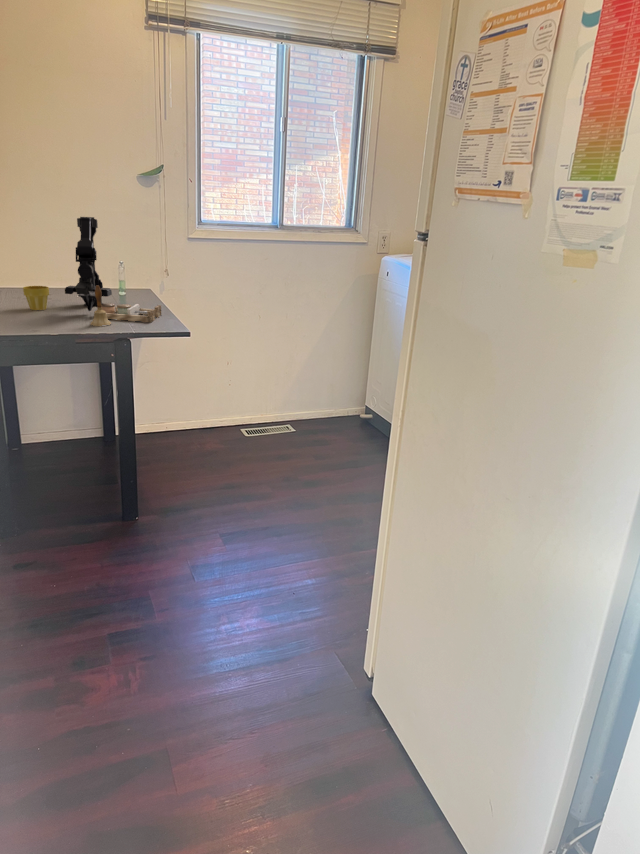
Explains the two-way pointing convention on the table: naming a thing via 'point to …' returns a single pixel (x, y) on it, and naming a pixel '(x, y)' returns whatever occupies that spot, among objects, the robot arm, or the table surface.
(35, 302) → the plant pot
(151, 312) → the lane
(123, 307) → the stock jar
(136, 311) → the peg stand
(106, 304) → the jar
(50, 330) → the table surface
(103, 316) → the hand bell
